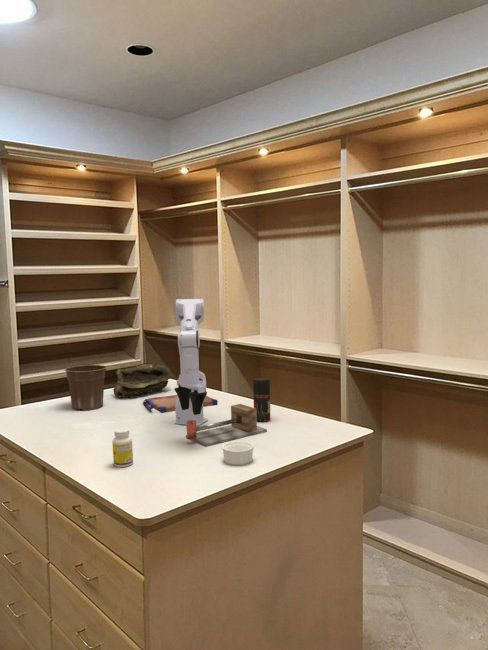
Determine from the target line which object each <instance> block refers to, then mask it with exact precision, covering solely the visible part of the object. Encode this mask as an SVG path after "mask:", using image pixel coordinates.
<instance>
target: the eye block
mask: <svg viewBox="0 0 488 650" xmlns="http://www.w3.org/2000/svg"><path fill="white" fill-rule="evenodd" d="M230 416H231V417H230V420H231V419H235V420H236V423H233V424H228V425H224V426H219V427H215V428H210V429H206V430H201V431H197V432H196V433H197V438H196V439H189V440H191V442H192V441H193V442H194V443H196V444H199V445H201V446H203V447H209V446H210V447H211V446H214V445H218V444H222V443H223V444H224V443H228V442H232V441H236V440H238V439H242V438H247V437H251V436H256V435H260V434H263V433H268V429H267V428H264V427H261V426H258V422H257V409H256V408H254V407H251V406H249V405H246V404H242V403H237V404H233V405H230ZM185 438H186V439H187V434H186V435H185Z"/></svg>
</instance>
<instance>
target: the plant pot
mask: <svg viewBox="0 0 488 650" xmlns="http://www.w3.org/2000/svg"><path fill="white" fill-rule="evenodd" d="M107 369H108V367H107V366H106V365H102V364H101V365H100V364H86V365H85V364H84V365H73V366H68V367H66V368H64V371H65V373H66V379H67V381H68V387H69V388H68V389H69V395H70V403H71V408H72V409H73V410H76V411H80V410H82V411H88V410H89V411H91V410H96V409H100V408H102V407H103V406H104V391H105V378H106V371H107Z"/></svg>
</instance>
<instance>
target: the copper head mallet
mask: <svg viewBox="0 0 488 650" xmlns="http://www.w3.org/2000/svg"><path fill="white" fill-rule="evenodd" d="M233 423H236V420H235V419H231V418H230V419H227V420H223V421H218V422H213V423H208V424H204V425H201V426H200V425H199V426H196V421H195V420H189V421H187V425H186V435H187V438H186V439H187V440H190V439H196V438H197V433H198V432H202V431H207V430H211V429H216V428H220V427H225V426H229V425H231V424H233Z"/></svg>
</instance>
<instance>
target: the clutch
mask: <svg viewBox="0 0 488 650" xmlns="http://www.w3.org/2000/svg"><path fill="white" fill-rule="evenodd" d="M177 399H178V395H177V394H172V395H163V396H155V397H149V398H146V399H144V400H143V401H142V404H144V405H145V407H146V409H148V410H153V409H156V410H158V411H159V412H160V413H163V414H166V413H171V412H176V409H175V405H176V401H177ZM218 402H219V401H218V399H215V398H213V397H210V396H207V395H206V397H205V399H204V401H203V408H204V407H205V408H206V407H212V406H216V405H218Z"/></svg>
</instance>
